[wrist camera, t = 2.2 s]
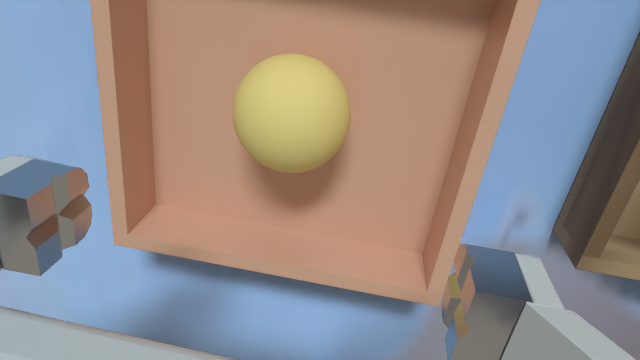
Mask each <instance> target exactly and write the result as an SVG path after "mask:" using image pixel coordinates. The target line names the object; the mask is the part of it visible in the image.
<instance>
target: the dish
mask: <svg viewBox="0 0 640 360" xmlns="http://www.w3.org/2000/svg"><path fill="white" fill-rule="evenodd" d="M540 1H541V0H90V3H91V13H92V23H93V34H94V44H95V54H96V64H97V74H98V84H99V95H100V105H101V115H102V125H103V135H104V145H105V156H106V166H107V176H108V186H109V196H110V206H111V216H112V227H113V237H114V245H119V246H124V247H129V248H135V249H140V250H145V251H150V252H156V253H161V254H166V255H171V256H177V257H182V258H187V259H192V260H197V261H203V262H208V263H213V264H218V265H224V266H229V267H234V268H239V269H245V270H250V271H255V272H260V273H266V274H271V275H276V276H281V277H286V278H292V279H297V280H302V281H307V282H313V283H318V284H323V285H328V286H334V287H339V288H344V289H349V290H354V291H360V292H365V293H370V294H375V295H381V296H386V297H391V298H396V299H402V300H407V301H412V302H417V303H423V304H428V305H433V306H438V307H439V304H440V301H441V298H442V295H443V292H444V289H445V286H446V283H447V279H448V277H449V274H450V271H451V268H452V265H453V262H454V258H455V255H456V252H457V250H458V247H459V244H460V241H461V238H462V235H463V232H464V229H465V226H466V223H467V220H468V217H469V214H470V211H471V208H472V205H473V202H474V199H475V196H476V193H477V190H478V187H479V184H480V181H481V178H482V175H483V172H484V169H485V166H486V163H487V160H488V157H489V154H490V151H491V148H492V145H493V142H494V139H495V136H496V133H497V130H498V127H499V124H500V121H501V118H502V115H503V112H504V109H505V106H506V103H507V100H508V97H509V94H510V91H511V88H512V85H513V82H514V79H515V76H516V73H517V70H518V67H519V64H520V61H521V58H522V55H523V52H524V49H525V46H526V43H527V40H528V37H529V34H530V31H531V28H532V25H533V22H534V19H535V16H536V13H537V10H538V7H539V4H540ZM290 53H294V54H302V55H307V56H310V57H313V58H315V59H317V60H319V61H321V62H323V63H324V64H326V65H327V66H328V67H330V68H331V69H332V70H333V71H334V72H335V73H336V74H337V76H338V77H339V78H340V80H341V81H342V83H343V85H344V87H345V89H346V91H347V94H348V97H349V100H350V106H351V121H350V127H349V131H348V134H347V136H346V139H345V141H344V143H343V144H342V146H341V148H340V149H339V150H338V151H337V153H336V154H335V155H334V156H333V157H332V158H331V159H330V160H328V161H327V162H326V163H324V164H322V165H321V166H319V167H317V168H314V169H312V170H309V171H305V172H299V173H286V172H279V171H275V170H272V169H270V168H267V167H265V166H263V165H262V164H260V163H259V162H257V161H256V160H255V159H253V158H252V157H251V156H250V155H249V154H248V153H247V151H246V150H245V149H244V147H243V146H242V144H241V143H240V141H239V139H238V137H237V134H236V132H235V128H234V124H233V112H232V109H233V101H234V97H235V94H236V91H237V89H238V86H239V84H240V83H241V81H242V79H243V78H244V77H245V76H246V74H247V73H248V72H249V71H250V70H251V69H252V68H253V67H254V66H256V65H257V64H258V63H260V62H262V61H263V60H265V59H267V58H269V57H272V56H275V55H280V54H290Z"/></svg>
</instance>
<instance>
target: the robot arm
mask: <svg viewBox="0 0 640 360" xmlns="http://www.w3.org/2000/svg"><path fill="white" fill-rule="evenodd" d="M88 188H89V184H88V178H87V173H86V172H85V171H84V170H83V169H82V168H78V167H73V166H69V165H64V164H59V163H55V162H50V161H46V160H41V159H37V158H32V157H27V156H21V155H10V156H8V157H6V158H4V159H2V160H0V271H1V269H5V270H11V271H16V272H21V273H27V274H32V275H37V276H41V275H42V274H43V273H45V272H46V271H47V270H48V269H49V268H50V267H51V266H53V265H54V264H55V263H56V262H57V261H58V260H59V259H61V258H62V250H63V249H65V248H68V247H71V246H74V245H76V244H77V243H79V242H80V241H81V240H82V239H83V238H84V237H85V235H86V233H87V231H88V229H89V227H90V225H91V218H92V210H91V204H90V203H89V202H88V200H87V199H86V198H85V196H84V194H85V192H86V191H87V189H88ZM454 265H455V271H456V272H455V273H454V274H452V275H451V276H450V277H448V279H447V283H446V286H445V290H444V295H443V301H442V318H443V323H444V324H445V325H446V326H447V327H448V331H447V334H446V337H445V343H446V351H447V359H448V360H635V359H634V358H633V357H631V356H630V355H629V354H628V353H626V352H625V351H624V350H623V349H621V348H620V347H618V346H617V345H616V344H615V343H613V342H612V341H611V340H610V339H608V338H607V337H606V336H604V335H603V334H602V333H601V332H599V331H598V330H597V329H595V328H594V327H593V326H591V325H590V324H589V323H587V322H586V321H585V320H584V319H582V318H581V317H580V316H578V315H577V314H576V313H574V312H573V311H569V310H565V309H564V307H563V305H562V303H561V301H560V299H559V296H558V294H557V292H556V290H555V288H554V286H553V284H552V282H551V280H550V278H549V276H548V274H547V272H546V270H545V267H544V265H543V263H542V261H541V259H540V258H538V257H537V256H533V255H527V254H520V253H514V252H508V251H502V250H497V249H491V248H485V247H479V246H473V245H468V244H460V246H459V248H458V250H457V252H456V255H455V258H454ZM0 360H237V359H232V358H228V357H223V356H219V355H214V354H210V353H206V352H201V351H197V350H192V349H188V348H183V347H179V346H174V345H170V344H166V343H161V342H157V341H152V340H148V339H143V338H139V337H135V336H130V335H126V334H121V333H117V332H112V331H108V330H104V329H99V328H95V327H90V326H86V325H82V324H77V323H73V322H68V321H64V320H59V319H55V318H51V317H46V316H42V315H37V314H33V313H28V312H24V311H20V310H15V309H11V308H6V307H2V306H0Z"/></svg>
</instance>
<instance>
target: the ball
mask: <svg viewBox="0 0 640 360" xmlns="http://www.w3.org/2000/svg"><path fill="white" fill-rule="evenodd" d="M232 112H233V124H234V128H235V132H236V134H237V137H238V139H239V141H240V143H241V144H242V146H243V147H244V149H245V150H246V151H247V153H248V154H249V155H250V156H251V157H252V158H253V159H255V160H256V161H257V162H259V163H260V164H262V165H263V166H265V167H267V168H270V169H272V170H275V171H279V172H286V173H299V172H305V171H309V170H312V169H314V168H317V167H319V166H321V165H322V164H324V163H326V162H327V161H328V160H330V159H331V158H332V157H333V156H334V155H335V154H336V153H337V151H338V150H339V149H340V148H341V146H342V144H343V143H344V141H345V139H346V136H347V134H348V131H349V127H350V121H351V106H350V100H349V97H348V94H347V91H346V89H345V87H344V85H343V83H342V81H341V80H340V78H339V77H338V76H337V74H336V73H335V72H334V71H333V70H332V69H331V68H330V67H328V66H327V65H326V64H324V63H323V62H321V61H319V60H317V59H315V58H313V57H310V56H307V55H302V54H294V53H290V54H280V55H275V56H272V57H269V58H267V59H265V60H263V61H262V62H260V63H258V64H257V65H256V66H254V67H253V68H252V69H251V70H250V71H249V72H248V73H247V74H246V76H245V77H244V78H243V79H242V81H241V83H240V84H239V86H238V89H237V91H236V94H235V97H234V101H233V109H232Z"/></svg>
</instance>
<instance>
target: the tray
mask: <svg viewBox="0 0 640 360" xmlns="http://www.w3.org/2000/svg"><path fill="white" fill-rule="evenodd" d="M553 231H554V233H555V235H556V236H557V238H558V240H559V241H560V243H561V245H562V246H563V248H564V250H565V252H566V253H567V255H568V257H569V258H570V260H571V262H572V263H573V265H574V267H575V268H576V269H580V270H586V271H591V272H596V273H602V274H607V275H613V276H618V277H624V278H629V279H635V280H640V34H639V36H638V38H637V41H636V43H635V45H634V47H633V50H632V52H631V54H630V56H629V59H628V61H627V63H626V65H625V68H624V70H623V72H622V75H621V77H620V79H619V81H618V84H617V86H616V88H615V90H614V93H613V95H612V97H611V99H610V102H609V104H608V106H607V108H606V111H605V113H604V115H603V117H602V120H601V122H600V124H599V127H598V129H597V131H596V133H595V136H594V138H593V140H592V142H591V145H590V147H589V149H588V151H587V154H586V156H585V158H584V160H583V163H582V165H581V167H580V169H579V172H578V174H577V176H576V179H575V181H574V183H573V185H572V188H571V190H570V192H569V194H568V197H567V199H566V201H565V203H564V206H563V208H562V210H561V212H560V215H559V217H558V219H557V222H556V224H555V226H554V228H553Z"/></svg>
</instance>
